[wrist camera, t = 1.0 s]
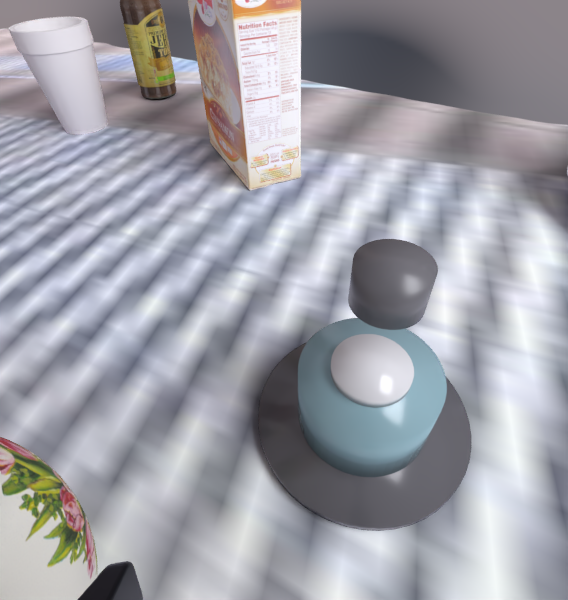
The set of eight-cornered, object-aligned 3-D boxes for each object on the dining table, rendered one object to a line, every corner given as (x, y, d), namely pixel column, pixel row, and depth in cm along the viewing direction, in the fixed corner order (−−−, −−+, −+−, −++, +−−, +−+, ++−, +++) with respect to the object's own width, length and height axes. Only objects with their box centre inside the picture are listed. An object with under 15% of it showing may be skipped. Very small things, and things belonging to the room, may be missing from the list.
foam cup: (72, 144, 56) (28, 36, 47) (42, 128, 60) (-4, 26, 51) (130, 123, 61) (100, 21, 52) (98, 110, 65) (65, 14, 56)
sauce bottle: (168, 102, 67) (134, -56, 53) (135, 100, 68) (92, -56, 54) (184, 89, 71) (156, -60, 57) (153, 87, 72) (117, -59, 58)
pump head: (435, 326, 18) (456, 272, 16) (378, 358, 17) (390, 304, 15) (386, 283, 20) (397, 230, 18) (331, 309, 19) (336, 256, 17)
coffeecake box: (208, 143, 55) (178, -42, 41) (256, 132, 57) (242, -47, 43) (247, 192, 46) (225, -27, 32) (303, 178, 48) (304, -34, 34)
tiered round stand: (516, 449, 24) (559, 400, 20) (338, 587, 19) (349, 558, 15) (373, 314, 32) (384, 259, 28) (225, 388, 27) (212, 335, 23)
